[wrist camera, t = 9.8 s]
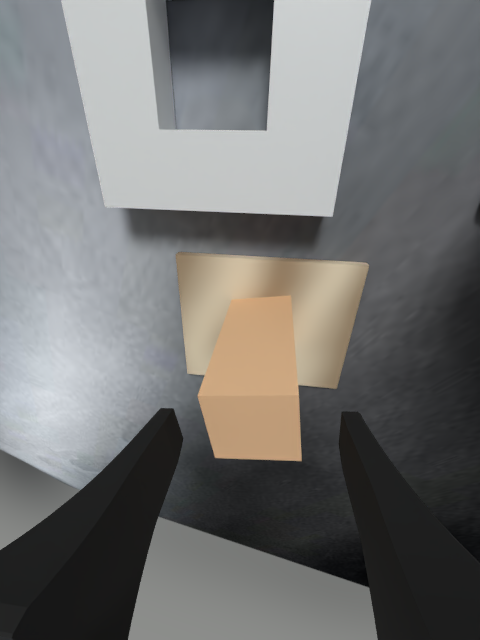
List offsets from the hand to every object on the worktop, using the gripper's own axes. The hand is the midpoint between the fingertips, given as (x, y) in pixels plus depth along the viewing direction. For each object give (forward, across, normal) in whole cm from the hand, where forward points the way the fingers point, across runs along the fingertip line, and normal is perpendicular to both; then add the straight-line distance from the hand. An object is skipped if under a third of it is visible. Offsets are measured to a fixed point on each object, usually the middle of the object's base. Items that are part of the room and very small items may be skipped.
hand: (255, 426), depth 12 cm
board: (+9, 0, 0) cm, 9 cm away
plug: (+9, 0, 0) cm, 9 cm away
